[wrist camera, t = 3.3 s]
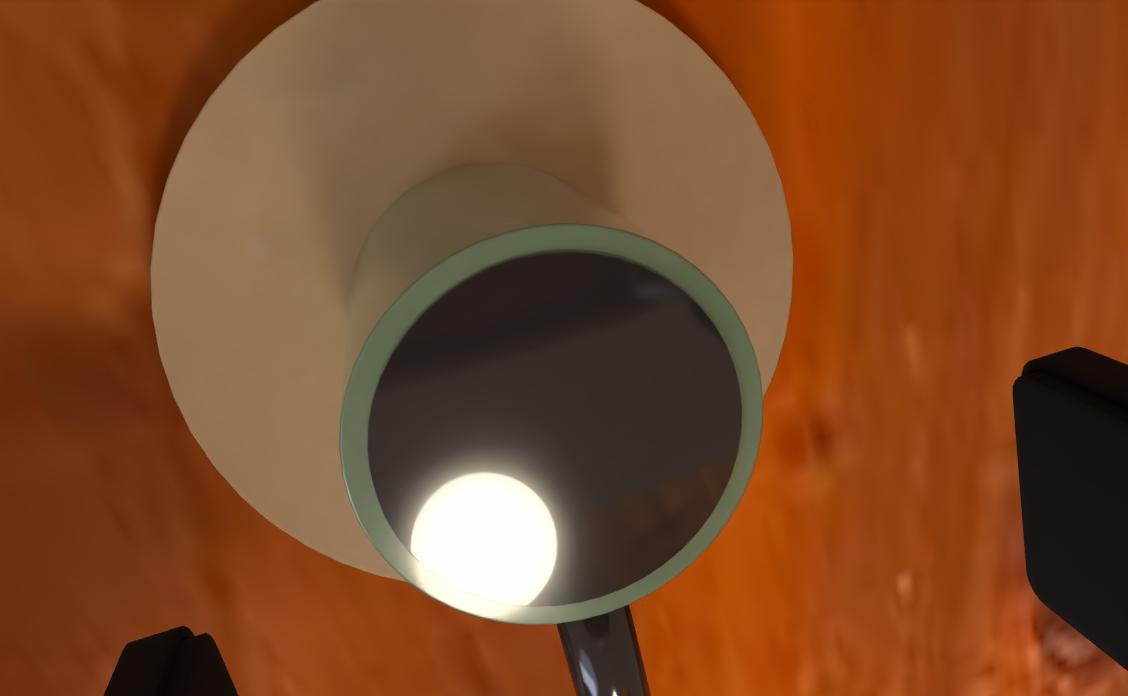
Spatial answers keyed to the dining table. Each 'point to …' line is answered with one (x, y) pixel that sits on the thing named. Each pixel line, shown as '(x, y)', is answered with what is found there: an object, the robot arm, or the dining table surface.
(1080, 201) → the dining table surface
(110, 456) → the dining table surface
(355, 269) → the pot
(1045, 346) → the dining table surface
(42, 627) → the dining table surface
